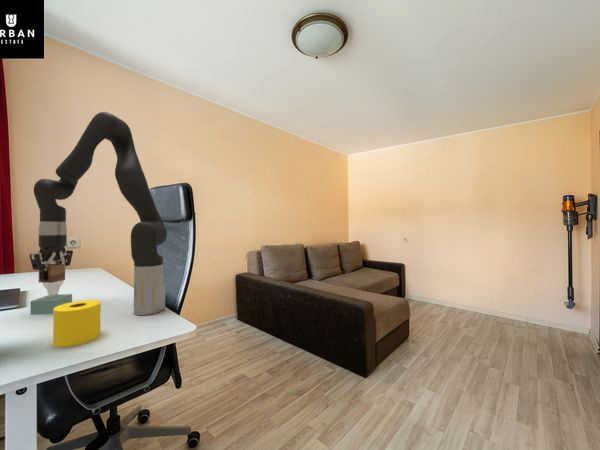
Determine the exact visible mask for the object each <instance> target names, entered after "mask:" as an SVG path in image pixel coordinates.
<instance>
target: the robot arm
mask: <svg viewBox="0 0 600 450" xmlns="http://www.w3.org/2000/svg"><path fill="white" fill-rule="evenodd" d="M104 140H107V141H109V142H110V143H111V145H112V146H113V149H114V151H115V154H116V164H115V168H114V178H115V181H116V183H117V185H118V189H119V191H120V193H121V195H122V196H123V197H124V198H125V200H126V201H127V202H128V203H129V205H131V206H132V208H133V209H134V211H135V212H136V214H137V215H138V219H139V220H140V221H139V222H137V223H135V225H133V226H132V229H131V232H130V249H131V253H130V255H131V259H132V260H133V314H134V315H136V316H148V315H149V316H150V315H156V314H158V313H159V312H161V310H162V311H163V310H165V309H166V284H165V283H163V282H164V278H163V277H164V275H163V274H164V257H163V256H162V255H160V254H159V252H158V246H160V245H162V244H164V243H165V242H166V240H167V237H168V232H167V231H168V230H167V228H166V226H165V223H164V221H163V219H162V218H161V215H160V214H159V211H158V209H157V207H156V205H155V204H156V203H155V201H154V199H153V194H152V193H151V191H150V187H149V183H148V181H147V178H146V175H145V173H144V170H143V169H142V165H141V161H140V160H139V157H138V153H137V150H136V148H135V144H134V139H133V135H132V131H131V128H130V126H129V124H127V122H125V121H124V120H123V119H122V118H119V117H117V116H116V115H114V114H113V113H110V112H108V111H101V112H98V113H96V114H95V115H94V116H93V117H92V118H91V120H90V122H89V123H88V125H87V126H86V128H85V130H84V131H83V133H82V134H81V137H80V138H79V140H78V141H77V143H76V145H75V147H74V148H73V149H72V150H71V152H70V154H69V155H68V156H66V157H65V159H64V160H63V161H62V162H61V163H60V164H59V165H58V167H56V168H55V174H56V176H57V177H59V178H60V179H58V180H55V179H49V178H41V179H39V180H37V181H35V183H34V186H33V195H34V197H35V201H36V204H37V207H38V208H39V225H38V248H39V251H38V252H36V253H30V254H29V260H30V264H31V266H32V270H34V271H38V272H39V271H40V280H41V281H48V271H47V270H48V268H49V266H50V265H51V264H65V268H66V267H68V266H71V262H72V260H73V259H72V258H73V256H74V255H73V254H74V251H73V250H69V249H66V248H65V247H66V246H67V239H68V238H67V237H68V236H67V235H68V234H67V233H68V228H67V210H66V208H65V207H64V206H62V205H59V204H58V202H57V200H58V201H63V200H66V199H68V198H70V197H71V196H72V195H73V194H74V191H75V189H76V187H77V185H78V183H79V180H80V179H81V178H82V177H84V175H85V174H86V173H87V172H88V171H89V169H90V168H91V166H92V163H93V159H94V154H95V151H96V148H97V147H98V145H99V144H100V143H101V142H103V141H104ZM164 308H165V309H164Z"/></svg>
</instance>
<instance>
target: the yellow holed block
mask: <svg viewBox="0 0 600 450" xmlns="http://www.w3.org/2000/svg"><path fill="white" fill-rule="evenodd" d="M101 303H102V302H101V301H100V300H97V299H86V300H85V299H84V300H76V301H72V302H70V303H66V304H62V305H59V306H57V307H55V308H54V309H53V314H52V315H53V316H52V317H53V318H52V320H53V322H52V325H53V326H52V329H53V330H52V333H53V334H52V335H53V336H52V345H53V346H54V347H56V348H67V347H74V346H80V345H83V344H87V343H89V342H91V341H94V340H96V339H98V338H99V337H100V335H101V312H102V311H101V307H102V306H101V305H102V304H101Z"/></svg>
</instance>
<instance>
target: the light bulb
mask: <svg viewBox="0 0 600 450" xmlns="http://www.w3.org/2000/svg"><path fill="white" fill-rule="evenodd" d="M64 282H65V280H62V281H57V282H53V283H42V286H43V287H44V288H45V289H46V291H47V295H59V292H60V288H61V287H62V286H63V284H64Z"/></svg>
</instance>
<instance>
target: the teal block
mask: <svg viewBox="0 0 600 450" xmlns="http://www.w3.org/2000/svg"><path fill="white" fill-rule="evenodd" d="M70 302H73V294H72V293H71V294H70V293H67V294H63V293H62V294H58V295H49V294H47V295H44V296H41V297H39V298H36V299H33V300H31V301H30V306H29V307H30V312H29V313H30V315H51V314H52V315H53V309H54V308H55V307H57V306H59V305H62V304H66V303H70Z"/></svg>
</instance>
